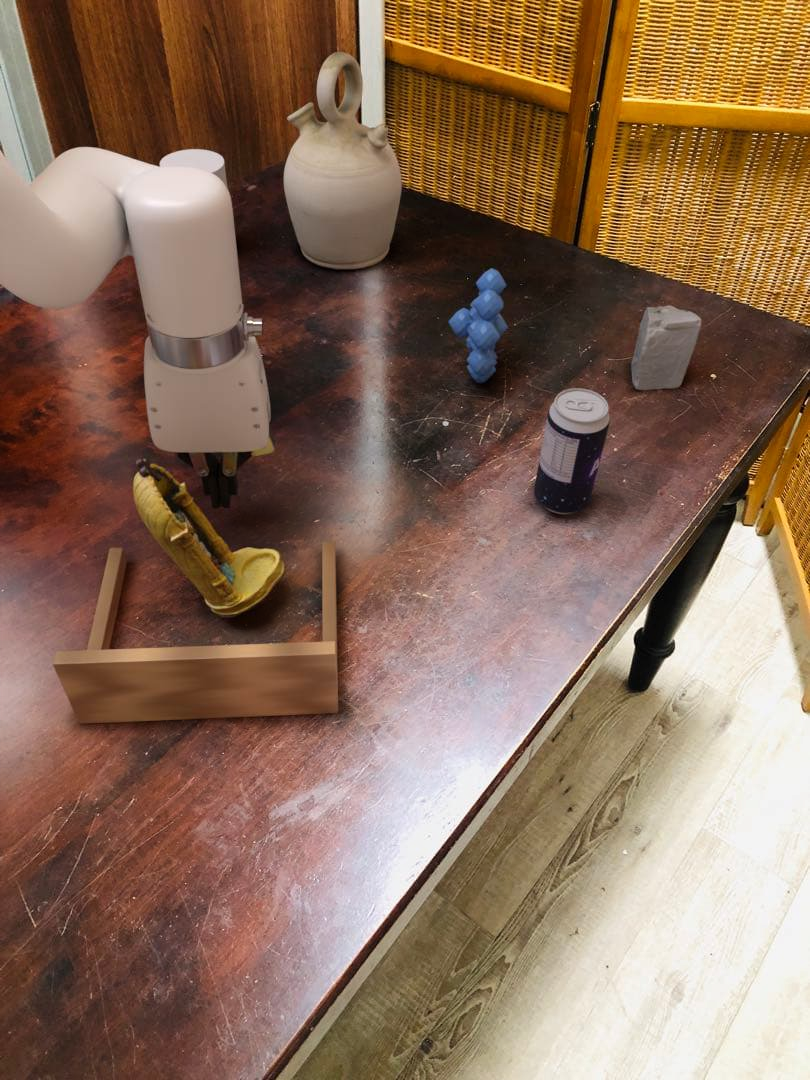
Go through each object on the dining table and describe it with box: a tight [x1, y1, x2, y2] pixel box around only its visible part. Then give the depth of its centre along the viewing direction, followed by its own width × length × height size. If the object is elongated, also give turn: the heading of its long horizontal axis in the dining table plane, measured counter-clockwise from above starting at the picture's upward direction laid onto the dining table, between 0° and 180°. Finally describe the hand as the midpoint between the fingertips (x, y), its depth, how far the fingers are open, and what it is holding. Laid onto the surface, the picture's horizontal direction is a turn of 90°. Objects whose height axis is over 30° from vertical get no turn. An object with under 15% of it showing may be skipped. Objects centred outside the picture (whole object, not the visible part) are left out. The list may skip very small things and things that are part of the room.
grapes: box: [448, 267, 509, 384], centre depth 99 cm, size 12×7×12 cm, turn 172°
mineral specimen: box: [630, 304, 703, 391], centre depth 101 cm, size 7×9×8 cm
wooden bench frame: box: [52, 541, 339, 725], centre depth 73 cm, size 20×17×8 cm
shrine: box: [132, 458, 286, 618], centre depth 73 cm, size 12×8×15 cm
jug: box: [283, 51, 403, 271], centre depth 113 cm, size 15×16×25 cm
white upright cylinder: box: [159, 148, 229, 190], centre depth 117 cm, size 8×8×12 cm
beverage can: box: [533, 387, 611, 515], centre depth 84 cm, size 6×6×12 cm
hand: (222, 497), depth 83 cm, fingers closed
